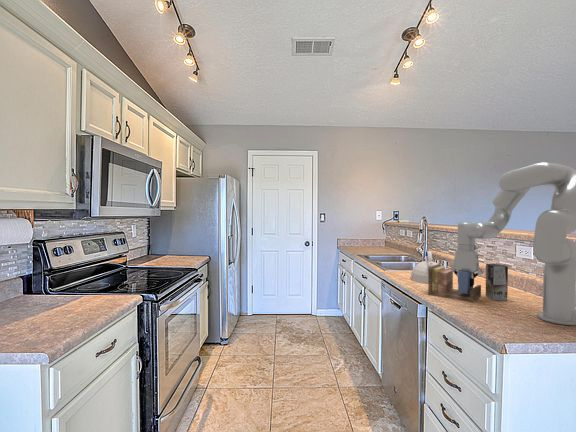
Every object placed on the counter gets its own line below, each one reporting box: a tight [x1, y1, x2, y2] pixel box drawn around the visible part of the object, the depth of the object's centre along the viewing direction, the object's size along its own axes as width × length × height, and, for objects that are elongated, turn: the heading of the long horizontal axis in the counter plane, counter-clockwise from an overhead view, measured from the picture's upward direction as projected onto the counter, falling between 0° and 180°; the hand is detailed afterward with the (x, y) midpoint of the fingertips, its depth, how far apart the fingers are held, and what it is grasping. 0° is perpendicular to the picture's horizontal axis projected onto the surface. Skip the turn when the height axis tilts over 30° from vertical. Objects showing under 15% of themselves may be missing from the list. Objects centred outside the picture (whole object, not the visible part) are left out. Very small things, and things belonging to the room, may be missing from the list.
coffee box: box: [485, 263, 509, 302], centre depth 154 cm, size 9×6×16 cm
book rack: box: [427, 263, 482, 303], centre depth 158 cm, size 20×14×14 cm
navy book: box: [457, 271, 474, 294], centre depth 155 cm, size 4×10×10 cm, turn 137°
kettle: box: [410, 250, 439, 285], centre depth 193 cm, size 20×21×18 cm
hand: (465, 285), depth 155 cm, fingers closed on navy book, 4 cm apart
